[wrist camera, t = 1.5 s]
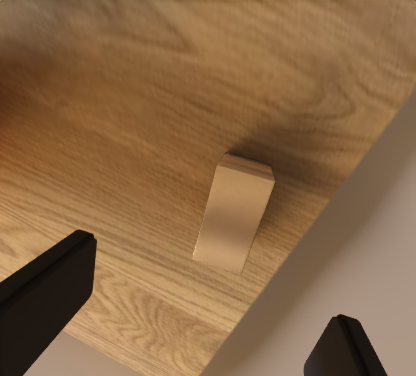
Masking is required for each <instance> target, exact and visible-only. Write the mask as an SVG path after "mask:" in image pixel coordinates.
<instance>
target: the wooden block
mask: <svg viewBox="0 0 416 376" xmlns="http://www.w3.org/2000/svg"><path fill="white" fill-rule="evenodd" d="M274 184H275V179H274V176H273V172H272V169H271V166H270V164H267V163H263V162H260V161H256V160H253V159H249V158H246V157H242V156H239V155H235V154H231V153H228V152H226V153H225V154H224V156H223V157H222V159H221V160H220V162H219V163H218V165H217V167H216V171H215V175H214V179H213V183H212V186H211V190H210V194H209V198H208V201H207V205H206V209H205V213H204V216H203V220H202V224H201V228H200V231H199V235H198V239H197V243H196V246H195V250H194V254H193V258H192V259H193V260H196V261H199V262H202V263H205V264H208V265H211V266H214V267H217V268H220V269H223V270H226V271H229V272H232V273H235V274H238V275H241V273H242V270H243V268H244V265H245V262H246V260H247V257H248V254H249V252H250V249H251V246H252V243H253V241H254V238H255V235H256V233H257V230H258V227H259V225H260V222H261V219H262V216H263V214H264V211H265V208H266V206H267V203H268V200H269V197H270V195H271V192H272V189H273V187H274Z"/></svg>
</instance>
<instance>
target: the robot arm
mask: <svg viewBox="0 0 416 376" xmlns="http://www.w3.org/2000/svg"><path fill="white" fill-rule="evenodd" d="M96 246H97V240H96V239H95V238H94V235H93V234H92V233H89V232H86V231H83V230H76V231H74V232H73V233H72V234H70V235H69V236H67V237H66V238H64V239H63V240H61V241H60V242H59V243H57V244H56V245H54V246H53V247H51V248H50V249H48V250H47V251H45V252H44V253H43V254H41V255H40V256H38V257H37V258H35V259H34V260H32V261H31V262H29V263H28V264H27V265H25V266H24V267H22V268H21V269H19V270H18V271H16V272H15V273H13V274H12V275H11V276H9V277H8V278H6V279H5V280H3V281H2V282H0V376H23V375H24V374H25V372H26V371H27V370H28V369H29V368H30V367H31V365H32V364H33V363H34V362H35V361H36V360H37V358H38V357H39V356H40V355H41V354H42V352H43V351H44V350H45V349H46V348H47V347H48V346H49V344H50V343H51V342H52V341H53V340H54V339H55V337H56V336H57V335H58V334H59V333H60V331H61V330H62V329H63V328H64V327H65V326H66V325H67V324H68V322H69V321H70V320H71V319H72V318H73V317H74V315H75V314H76V313H77V312H78V311H79V310H80V308H81V307H82V306H83V305H84V304H85V303H86V301H87V300H88V299H89V297H90V296H91V294H92V290H93V280H94V269H95V258H96ZM304 376H387V374H386V372H385V370H384V368H383V366H382V364H381V362H380V360H379V358H378V356H377V355H376V352H375V351H374V349H373V347H372V345H371V343H370V341H369V339H368V337H367V335H366V333H365V331H364V329H363V327H362V325H361V323H360V322H359V321H358V320H357V319H354V318H351V317H348V316H345V315H342V314H340V315H337V317H332V319H331V320H330V322H329V323H328V325H327V327H326V329H325V330H324V332H323V334H322V336H321V337H320V339H319V340H318V342H317V344H316V346H315V347H314V349H313V351H312V352H311V354H310V356H309V357H308V359H307V361H306V363H305V365H304Z"/></svg>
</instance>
